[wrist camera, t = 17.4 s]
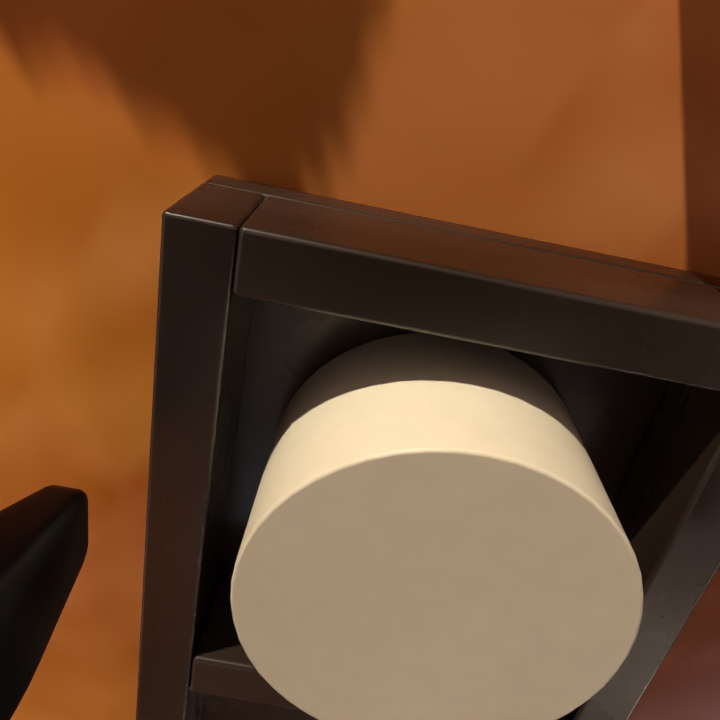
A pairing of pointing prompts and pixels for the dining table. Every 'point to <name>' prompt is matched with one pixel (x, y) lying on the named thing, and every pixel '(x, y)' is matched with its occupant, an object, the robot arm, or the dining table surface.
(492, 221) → the dining table surface
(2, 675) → the robot arm
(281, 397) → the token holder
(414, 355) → the cylinder
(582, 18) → the dining table surface
